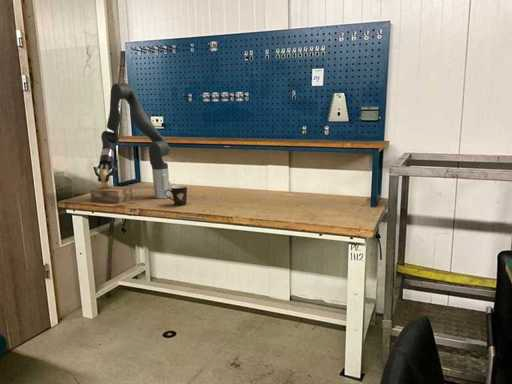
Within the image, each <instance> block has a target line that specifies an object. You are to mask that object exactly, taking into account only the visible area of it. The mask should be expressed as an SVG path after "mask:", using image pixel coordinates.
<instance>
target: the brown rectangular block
mask: <svg viewBox="0 0 512 384" xmlns="http://www.w3.org/2000/svg"><path fill="white" fill-rule="evenodd" d="M89 192H90V198H91V201H90V202H92V201H95V202H96V203H108V204H121V203H124V202H127V201H130V200H132V199H133V189H132V187H131V186H116V185H115V186H114V185H113V186H112V185H110V186H109V185H108V189H102V186H99V187H96V188H92V189H90V190H89ZM95 202H94V203H95Z"/></svg>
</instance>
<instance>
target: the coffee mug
mask: <svg viewBox="0 0 512 384" xmlns="http://www.w3.org/2000/svg"><path fill="white" fill-rule="evenodd" d="M167 191H170V192H171V195H172V198H171V197H168V196H167V195H166V194H165V196H166V197H168V199H169V200H172V201H173V203H174V204H173V205H174V206H176V207H183V206H186V205H187V201H188V200H187V198H188V197H187V196H188V185H184V184H182V185H181V184H177V185H173V186H171V190H166V191H165V193H166V192H167Z"/></svg>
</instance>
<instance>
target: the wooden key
mask: <svg viewBox="0 0 512 384" xmlns="http://www.w3.org/2000/svg"><path fill="white" fill-rule="evenodd" d="M99 170H100V178H101V182H100V184H101V185H100V187H102V189H108V186H109V183H108V182H109V181H108V182H106V175H107V172H106V169H99Z"/></svg>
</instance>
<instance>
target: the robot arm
mask: <svg viewBox="0 0 512 384" xmlns="http://www.w3.org/2000/svg"><path fill="white" fill-rule="evenodd" d="M109 97H110V98H109V99H110V100H109V114H108V118H107V124H106V128H107V129H108V130H110V131H108V130H103V132H102V133H101V136H100V138H101V143H102V148H101V152H100V158H99V164H98V166H93V168H92V169H93V172H94V175H95V176H96V177H97V182H99V183H101V178H100V169H106V173H107V175H106V182H109V181H110V177H113V176H114V175H115V173H116V171H117V170H118V168H117V166H116V165H113V164H114V163H113V162H114V157H115V155H114V154H115V149H116V148H115V145H116V144H118V143H119V141H120V135H119V134H120V133H119V131H120V130H119V128H120V123H121V121H122V120H121V119H122V116H121V112H120V108H119V103H120V100H125V101H126V102H127V104H128V105H129V108H130V118H131V121H132V123H133V124H134V126H135V127H136V128H137V130H139V131H140V132H141V133H142V134H143V135H145V136H146V137H148V139H149V140H150V141H151V142H150V144H149V145H148V157H149V163H150V165H151V172H152V174H151V175H152V181H153V182H152V183H153V195H154V199H167V198H168V197H170V198H171V197H172V193H171V192H170V191H167V192H166V193H165V191H166V190H172V189H171V187H172V186H171V180H170V174H169V165H168V163H167V162H165V161H164V157H166V156H168V155H169V153H170V145H169V144H168V142H167V141H166V140H165V138H164V137H163V136H162V135H161V134H160V132H159V131H158V129H157V128H156V126H155V124H153V122H152V120H151V119H150V117H149V115H148V114H147V112H146V111H145V110H144V108H143V106H142V105H141V103H140V102H139V100H138V98H137V96H136V94H135V91H134V90H133V88H132V86H131V84H129V83H126V82H121V83H118V82H117V83H113V84H112V86H111V87H110V96H109ZM168 145H169V146H168ZM162 157H163V158H162ZM165 194H166V195H167V196H168V197H166V196H165ZM168 199H169V198H168Z"/></svg>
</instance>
